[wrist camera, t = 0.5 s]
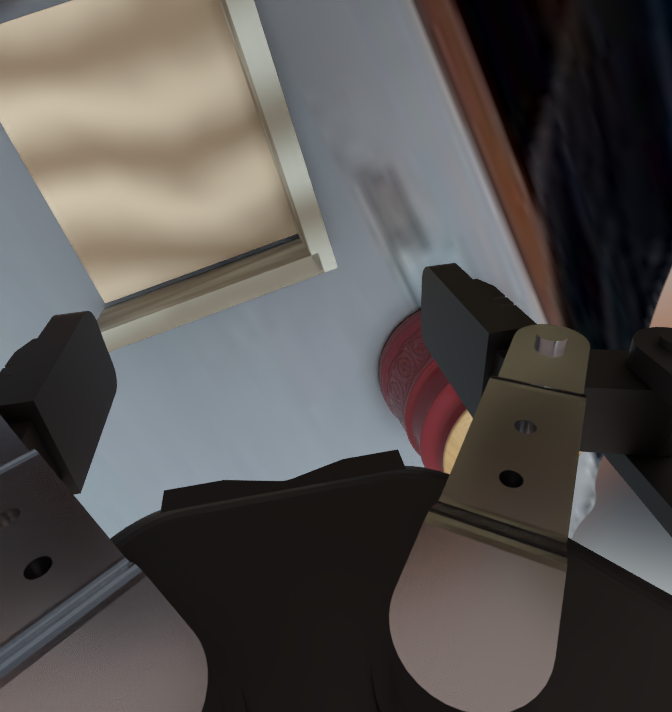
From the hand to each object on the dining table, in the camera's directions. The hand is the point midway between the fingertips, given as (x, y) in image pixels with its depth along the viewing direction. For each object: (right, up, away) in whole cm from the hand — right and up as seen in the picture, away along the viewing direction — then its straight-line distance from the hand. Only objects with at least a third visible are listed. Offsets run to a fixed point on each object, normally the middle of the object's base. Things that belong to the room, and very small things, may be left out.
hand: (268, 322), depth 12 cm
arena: (-11, +14, +23) cm, 29 cm away
